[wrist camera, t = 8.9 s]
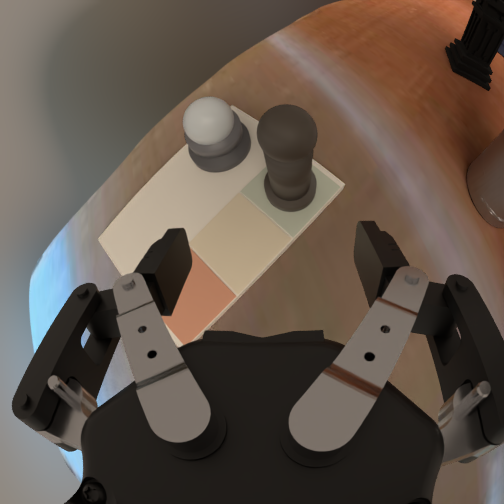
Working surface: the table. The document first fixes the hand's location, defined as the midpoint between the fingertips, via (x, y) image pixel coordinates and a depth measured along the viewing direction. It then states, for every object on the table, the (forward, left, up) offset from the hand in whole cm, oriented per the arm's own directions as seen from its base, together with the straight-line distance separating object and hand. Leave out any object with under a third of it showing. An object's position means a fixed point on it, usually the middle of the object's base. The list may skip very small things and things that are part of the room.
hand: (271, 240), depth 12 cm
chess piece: (-49, +1, -13) cm, 51 cm away
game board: (+1, -9, -13) cm, 16 cm away
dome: (-5, -14, -10) cm, 18 cm away
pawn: (-6, -5, -12) cm, 14 cm away
